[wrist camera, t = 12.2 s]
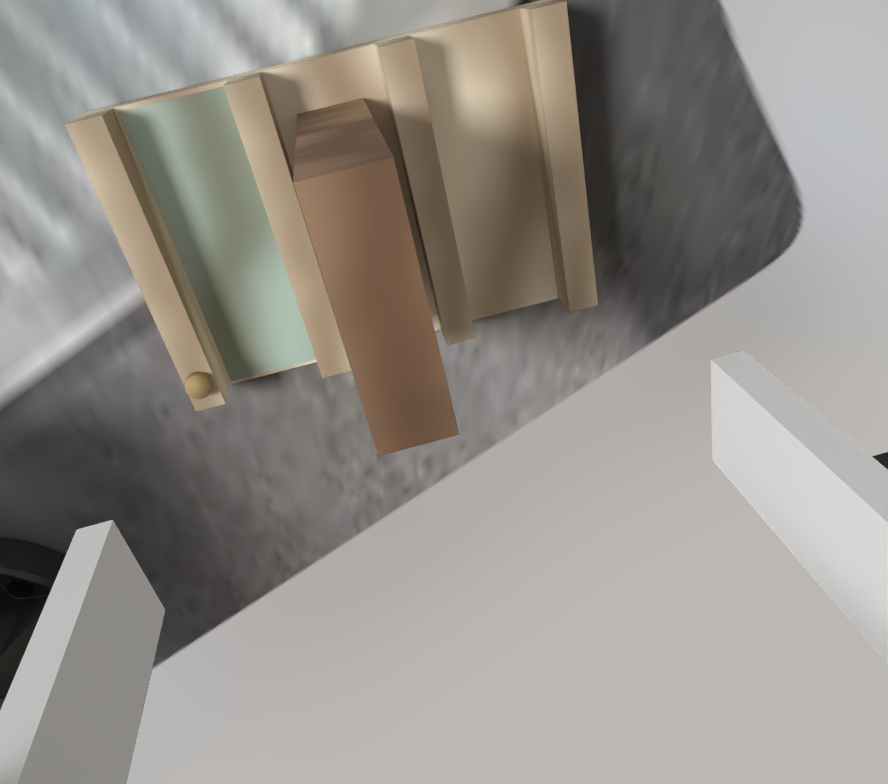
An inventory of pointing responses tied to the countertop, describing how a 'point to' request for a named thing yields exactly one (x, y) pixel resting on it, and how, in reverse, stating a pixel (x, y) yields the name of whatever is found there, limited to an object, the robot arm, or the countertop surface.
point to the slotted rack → (419, 171)
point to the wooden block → (372, 274)
